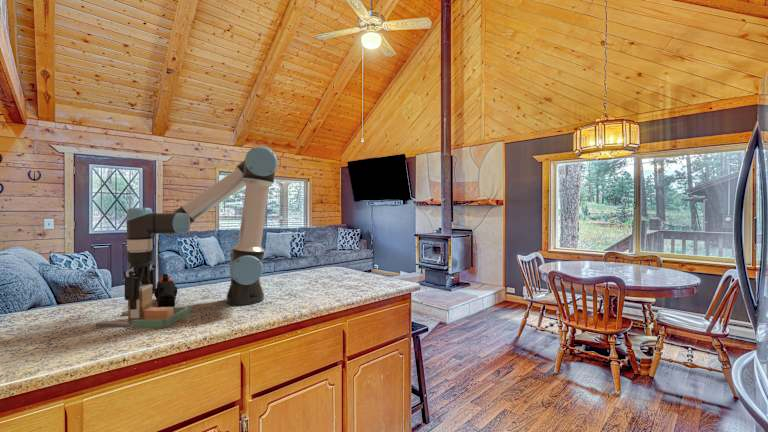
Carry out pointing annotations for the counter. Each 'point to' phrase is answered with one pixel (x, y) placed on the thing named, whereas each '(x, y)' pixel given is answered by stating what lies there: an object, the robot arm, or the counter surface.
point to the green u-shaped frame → (178, 314)
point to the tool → (165, 292)
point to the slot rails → (115, 323)
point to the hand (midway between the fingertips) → (141, 314)
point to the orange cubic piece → (150, 313)
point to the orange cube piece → (163, 313)
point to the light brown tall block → (142, 301)
